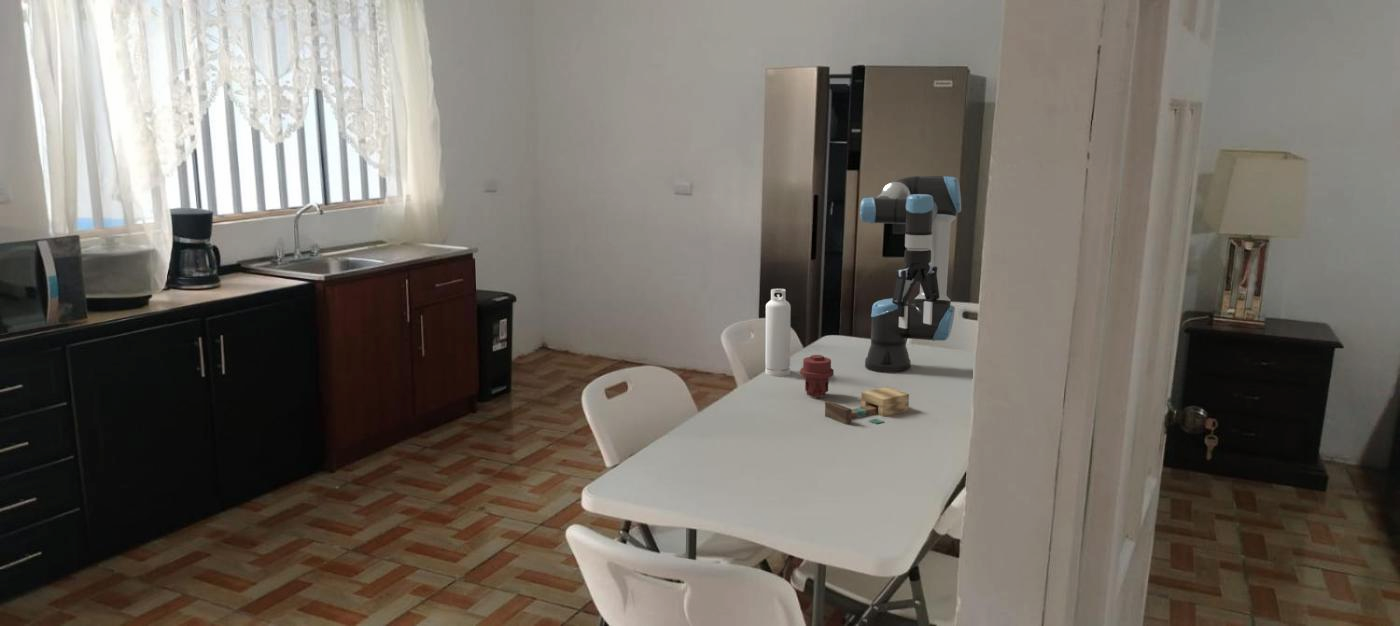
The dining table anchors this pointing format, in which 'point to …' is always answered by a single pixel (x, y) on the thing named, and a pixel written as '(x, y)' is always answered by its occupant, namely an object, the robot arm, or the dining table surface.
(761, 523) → the dining table surface
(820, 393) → the mechanical component
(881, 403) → the light wooden box
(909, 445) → the dining table surface
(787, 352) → the bottle
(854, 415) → the wooden block assembly
